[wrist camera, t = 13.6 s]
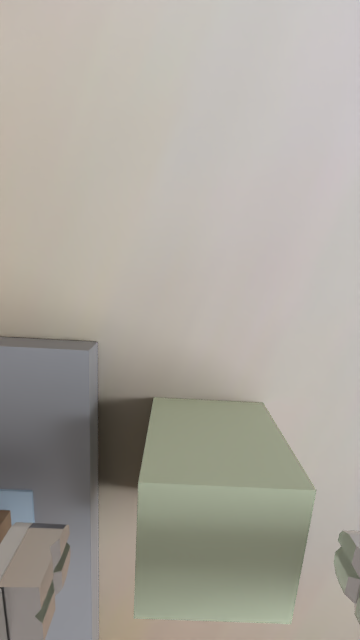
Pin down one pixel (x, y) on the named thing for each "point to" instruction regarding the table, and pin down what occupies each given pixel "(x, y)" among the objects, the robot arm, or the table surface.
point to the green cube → (219, 515)
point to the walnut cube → (4, 523)
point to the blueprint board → (55, 461)
